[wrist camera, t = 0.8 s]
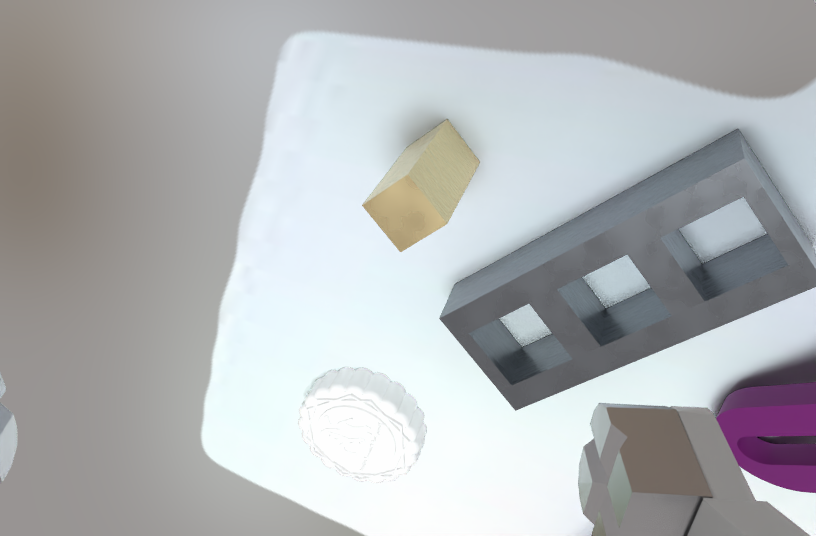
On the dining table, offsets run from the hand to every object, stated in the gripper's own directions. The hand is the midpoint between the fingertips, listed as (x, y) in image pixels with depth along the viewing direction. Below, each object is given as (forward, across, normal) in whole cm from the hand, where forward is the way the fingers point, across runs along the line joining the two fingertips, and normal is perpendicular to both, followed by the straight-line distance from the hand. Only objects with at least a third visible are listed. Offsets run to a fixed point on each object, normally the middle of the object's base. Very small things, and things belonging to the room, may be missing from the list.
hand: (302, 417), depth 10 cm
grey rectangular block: (+40, -19, +22) cm, 49 cm away
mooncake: (+45, -1, +44) cm, 63 cm away
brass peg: (+44, -5, +16) cm, 47 cm away
